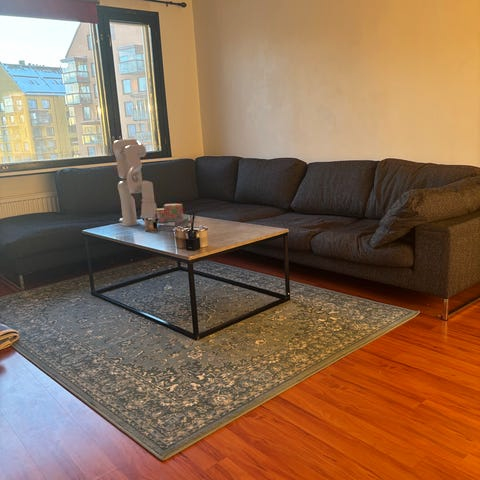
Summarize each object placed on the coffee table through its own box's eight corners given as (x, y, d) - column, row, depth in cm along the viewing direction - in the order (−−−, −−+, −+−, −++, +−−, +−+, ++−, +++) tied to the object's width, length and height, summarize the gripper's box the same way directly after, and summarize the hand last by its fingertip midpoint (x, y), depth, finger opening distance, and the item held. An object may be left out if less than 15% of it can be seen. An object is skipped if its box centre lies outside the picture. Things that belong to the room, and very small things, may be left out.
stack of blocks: (152, 222, 353) (151, 205, 350) (155, 221, 359) (153, 204, 356) (181, 221, 350) (180, 204, 347) (183, 220, 356) (182, 203, 353)
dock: (158, 230, 324) (157, 222, 323) (171, 225, 338) (170, 217, 337) (176, 230, 318) (176, 222, 317) (188, 225, 333) (188, 217, 331)
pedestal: (145, 231, 322) (144, 221, 321) (150, 229, 328) (149, 219, 326) (153, 231, 320) (151, 221, 318) (158, 230, 325) (156, 219, 324)
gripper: (134, 201, 319) (137, 228, 324) (156, 201, 313) (159, 229, 317) (140, 199, 326) (143, 226, 330) (162, 199, 319) (165, 226, 323)
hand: (151, 227), depth 323 cm, fingers closed on pedestal, 5 cm apart
